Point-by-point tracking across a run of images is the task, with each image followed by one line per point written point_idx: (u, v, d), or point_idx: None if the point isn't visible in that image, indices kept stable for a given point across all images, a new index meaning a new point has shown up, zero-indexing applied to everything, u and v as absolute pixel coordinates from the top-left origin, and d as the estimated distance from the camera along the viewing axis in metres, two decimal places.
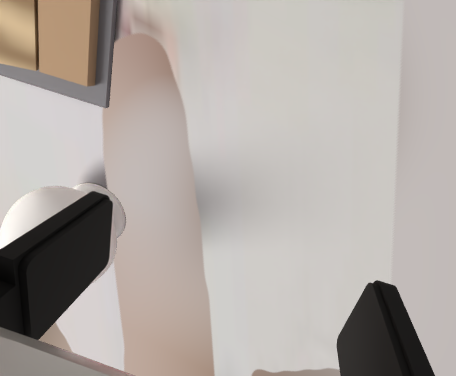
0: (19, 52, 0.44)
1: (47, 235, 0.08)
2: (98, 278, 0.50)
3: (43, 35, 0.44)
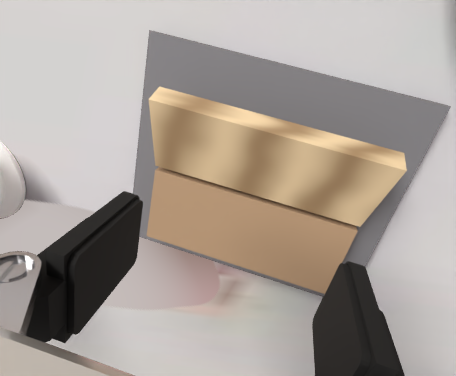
0: (175, 156, 0.28)
1: (90, 233, 0.08)
2: None
3: (204, 192, 0.29)
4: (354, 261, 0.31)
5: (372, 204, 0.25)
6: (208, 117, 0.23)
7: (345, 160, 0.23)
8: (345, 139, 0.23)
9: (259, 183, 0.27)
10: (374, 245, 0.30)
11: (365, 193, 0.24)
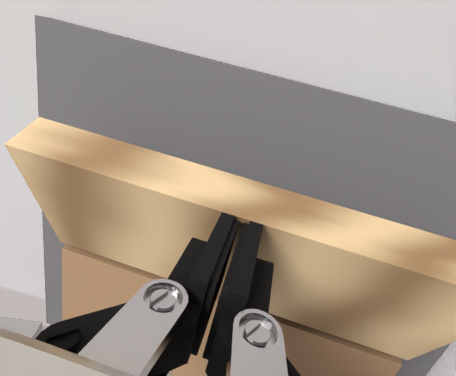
0: (85, 234, 0.16)
1: (216, 258, 0.09)
2: None
3: None
4: None
5: (439, 340, 0.13)
6: (119, 183, 0.12)
7: (397, 276, 0.11)
8: (393, 227, 0.12)
9: None
10: (424, 372, 0.18)
11: (428, 325, 0.13)
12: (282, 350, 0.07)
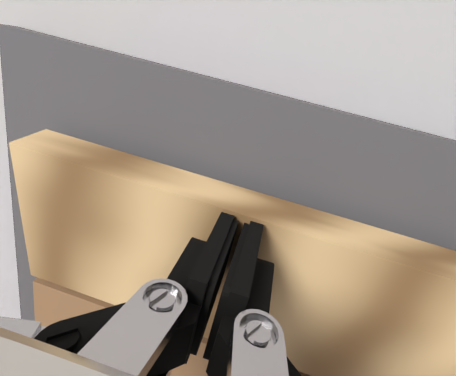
0: (64, 258, 0.15)
1: (215, 258, 0.09)
2: None
3: None
4: None
5: (452, 372, 0.12)
6: (122, 182, 0.12)
7: (400, 277, 0.11)
8: (388, 234, 0.12)
9: None
10: None
11: (438, 349, 0.12)
12: (283, 350, 0.07)
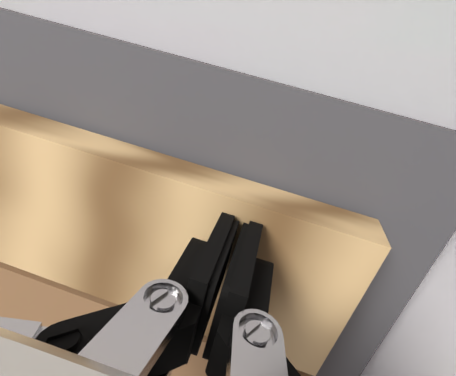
0: None
1: (216, 258, 0.09)
2: None
3: (31, 290, 0.16)
4: None
5: (332, 326, 0.12)
6: (9, 132, 0.12)
7: (270, 224, 0.11)
8: (270, 189, 0.12)
9: (120, 277, 0.14)
10: None
11: (316, 301, 0.12)
12: (282, 350, 0.07)
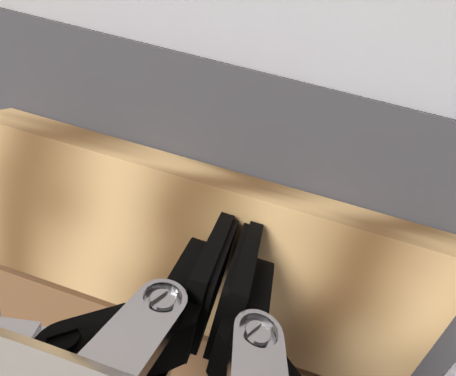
0: (25, 240, 0.14)
1: (215, 258, 0.09)
2: None
3: (86, 311, 0.15)
4: None
5: (417, 348, 0.12)
6: (81, 152, 0.12)
7: (358, 244, 0.11)
8: (348, 206, 0.12)
9: None
10: None
11: (401, 322, 0.12)
12: (283, 350, 0.07)
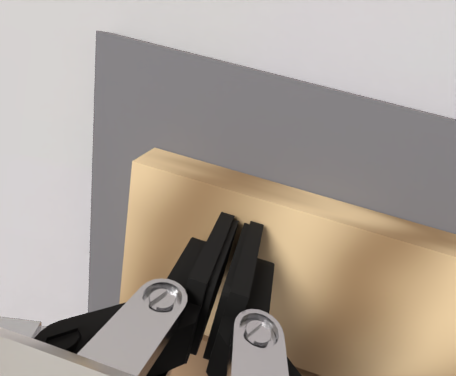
0: None
1: (215, 258, 0.09)
2: None
3: None
4: None
5: None
6: (258, 203, 0.11)
7: None
8: None
9: (344, 352, 0.13)
10: None
11: None
12: (283, 350, 0.07)
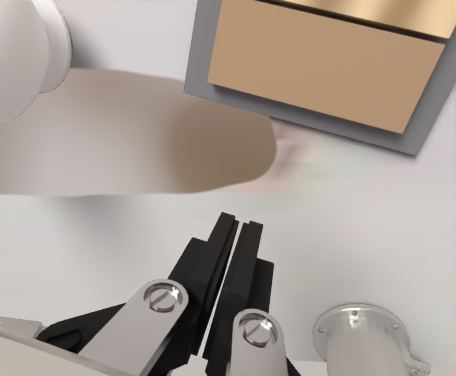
0: None
1: (216, 258, 0.09)
2: None
3: (276, 15, 0.28)
4: (431, 99, 0.29)
5: None
6: None
7: None
8: None
9: None
10: None
11: None
12: (282, 350, 0.07)
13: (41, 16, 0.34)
